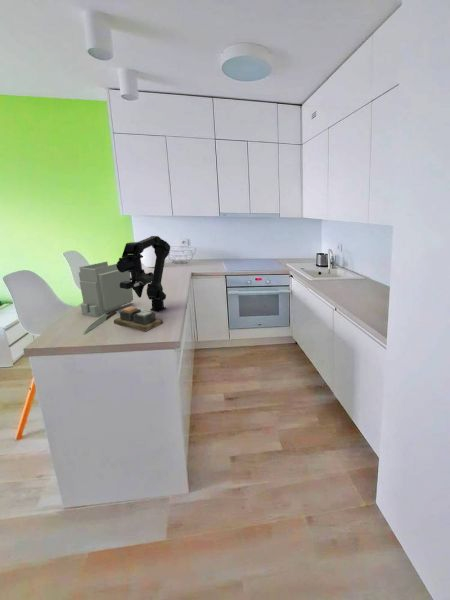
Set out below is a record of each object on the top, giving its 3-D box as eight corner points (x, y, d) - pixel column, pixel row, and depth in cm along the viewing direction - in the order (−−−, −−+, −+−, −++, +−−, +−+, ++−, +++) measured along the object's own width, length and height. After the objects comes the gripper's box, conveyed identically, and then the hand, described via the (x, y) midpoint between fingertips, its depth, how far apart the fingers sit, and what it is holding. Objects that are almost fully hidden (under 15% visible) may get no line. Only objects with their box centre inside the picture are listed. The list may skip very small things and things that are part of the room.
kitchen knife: (114, 307, 160) (80, 327, 132) (115, 307, 160) (82, 327, 132) (115, 315, 161) (81, 336, 133) (116, 315, 161) (83, 336, 133)
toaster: (78, 313, 162) (70, 268, 154) (114, 300, 185) (109, 260, 177) (100, 317, 155) (92, 270, 147) (135, 303, 177) (129, 261, 169)
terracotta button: (131, 313, 150) (130, 306, 149) (137, 315, 148) (137, 307, 147) (123, 316, 146) (122, 309, 145) (130, 318, 144) (129, 310, 142)
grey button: (145, 318, 146) (144, 310, 144) (152, 319, 143) (151, 312, 142) (137, 321, 141) (136, 313, 140) (144, 323, 139) (144, 315, 138)
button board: (132, 316, 156) (131, 305, 154) (162, 323, 145) (161, 312, 143) (114, 323, 146) (112, 312, 144) (145, 331, 135) (144, 319, 133)
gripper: (132, 273, 132) (136, 305, 137) (160, 265, 147) (163, 294, 152) (116, 271, 138) (121, 301, 143) (145, 263, 153) (148, 291, 158)
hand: (139, 297), depth 149 cm, fingers closed
